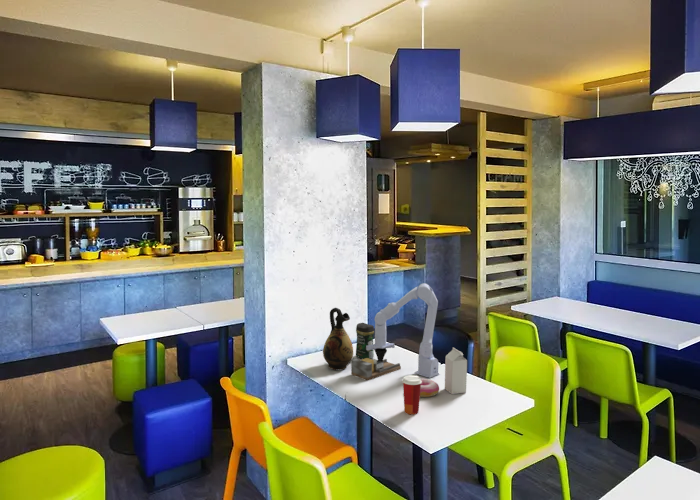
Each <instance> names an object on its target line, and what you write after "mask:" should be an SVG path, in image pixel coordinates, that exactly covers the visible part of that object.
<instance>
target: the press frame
mask: <svg viewBox="0 0 700 500" xmlns="http://www.w3.org/2000/svg"><path fill="white" fill-rule="evenodd" d="M387 360H388V359H386V358H385V359H384V358H383V362H384V363H383V369H380V370H378V372H375V371H374V372H372V364H371V363H368V362H365V361H362V359H360V358H352V360H351V361H350V363H351V364H350V367H351V368H350V369H351V370H350V374H351V376H354V377H356V378H359V379H361V380H365V381H371V380H374V379H376V378H380V377H382V376H385V375H388V374H391V373H393V372H397V371H399V370H401V369H402V366H401V363H400V362H399V363H392V362H388V361H387Z"/></svg>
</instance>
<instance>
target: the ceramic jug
mask: <svg viewBox="0 0 700 500" xmlns="http://www.w3.org/2000/svg"><path fill="white" fill-rule="evenodd" d="M335 313H336V315H337V316H336V317H335V316H334V315H335ZM350 319H351V318H350V315H349V314H348V313H347V312H344V313H343V311H341V309H340V308H338V307H333V308H331V310H330V311H329V320H330V321H329V322H330V326H331V329H330V333H329V335H328V336H327V338H326V340H325V343H324V346H323V348H322V349H323V350H322V355H323V358H324V361H325V362H326V363H327V366H328V368H329V369H330V370H333V371H343V370H346V369H347V366H348V365H349V364H350V363H351V360H352V359H353V356H354V346H353V343H352V342H353V341H352V340H351V338H350V336H349V334H348V332H347V331H346V329H345V328H344V325H343V324H344V322H347V321H349V320H350Z"/></svg>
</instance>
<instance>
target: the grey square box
mask: <svg viewBox="0 0 700 500" xmlns="http://www.w3.org/2000/svg"><path fill="white" fill-rule="evenodd" d="M372 360H374V371H375V372H378V370H380V369H383V363H384V362H382V361H379V360H378V359H376V358H372Z"/></svg>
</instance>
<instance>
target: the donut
mask: <svg viewBox="0 0 700 500" xmlns="http://www.w3.org/2000/svg"><path fill="white" fill-rule="evenodd" d="M420 379H421V381H422V383H421V387H420V398H431V397H434V396H435V395H437V394H438V393H439V391H440V386H439V384H438V383H437V382H436V381H434V380H432V379H429V378H421V377H420Z"/></svg>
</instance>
